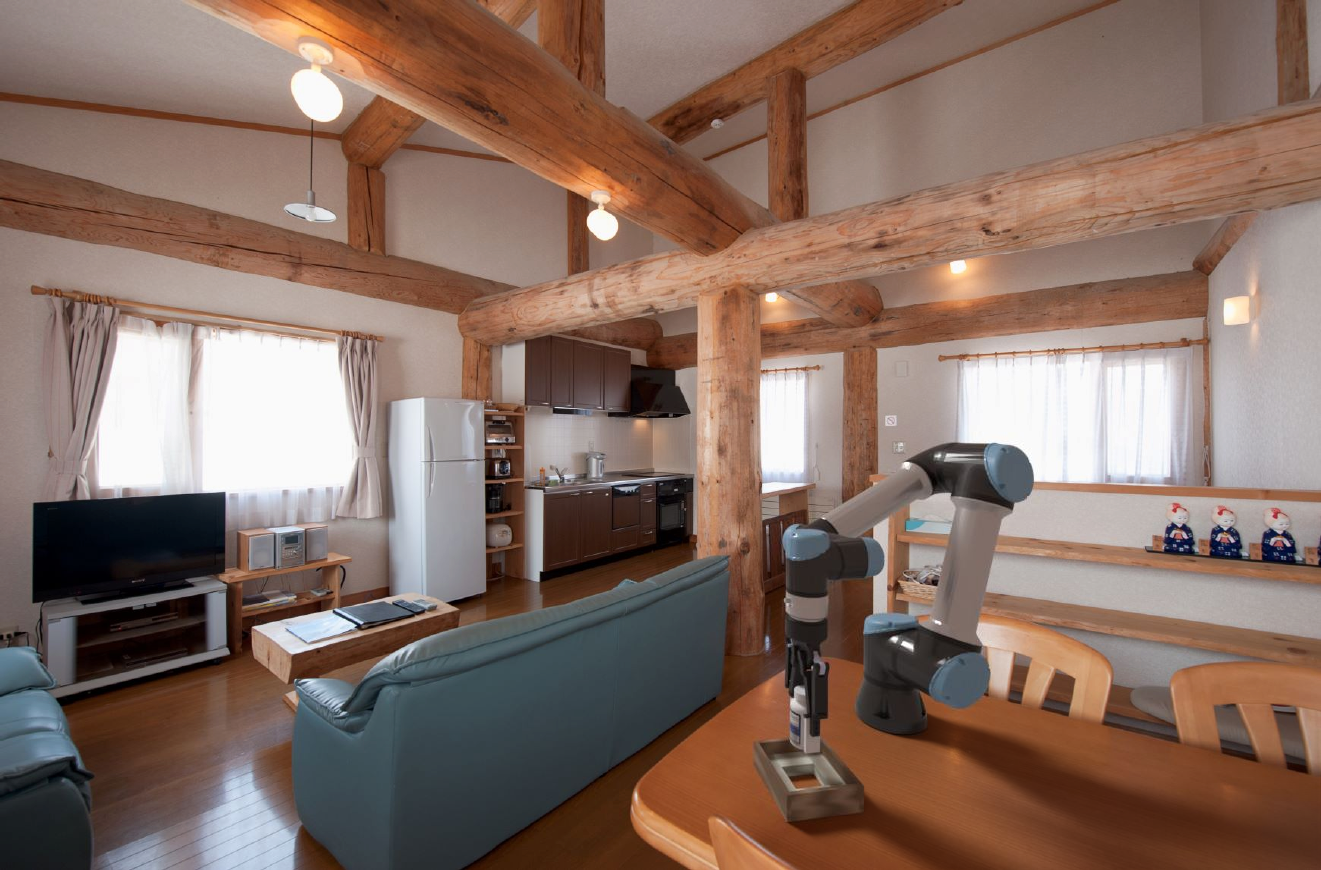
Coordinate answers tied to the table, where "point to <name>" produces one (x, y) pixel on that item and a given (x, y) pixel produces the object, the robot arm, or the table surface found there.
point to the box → (786, 760)
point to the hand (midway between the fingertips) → (804, 741)
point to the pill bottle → (798, 717)
